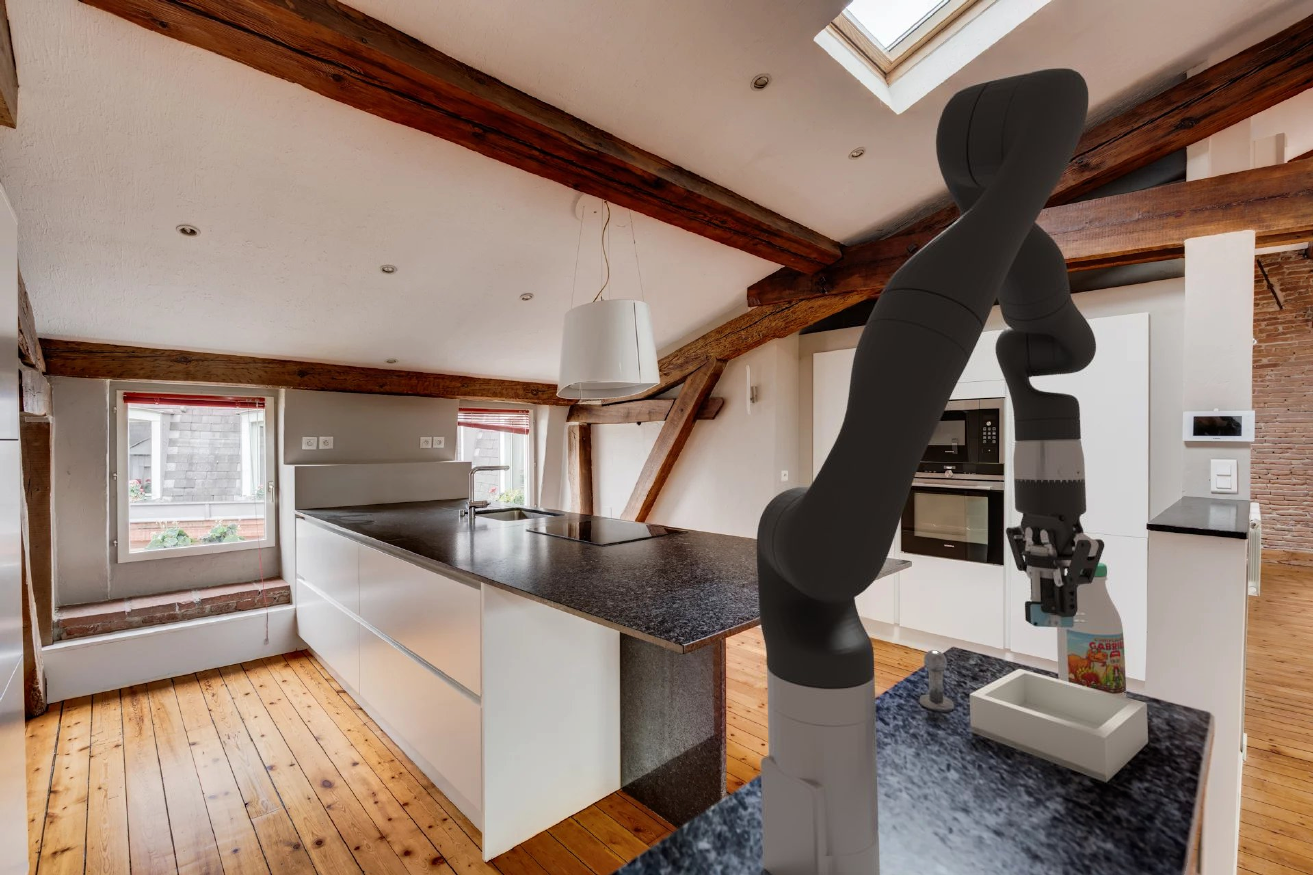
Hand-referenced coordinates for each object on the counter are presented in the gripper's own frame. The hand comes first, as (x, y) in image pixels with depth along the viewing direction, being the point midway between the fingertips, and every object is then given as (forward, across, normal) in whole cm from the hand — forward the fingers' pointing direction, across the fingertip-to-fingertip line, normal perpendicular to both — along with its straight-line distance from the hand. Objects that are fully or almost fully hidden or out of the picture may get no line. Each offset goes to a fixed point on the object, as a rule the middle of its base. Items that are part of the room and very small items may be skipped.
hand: (1053, 611), depth 73 cm
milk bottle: (+16, +9, -12) cm, 22 cm away
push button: (+2, 0, 0) cm, 2 cm away
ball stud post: (+16, +11, +10) cm, 21 cm away
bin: (+16, 0, 0) cm, 16 cm away
